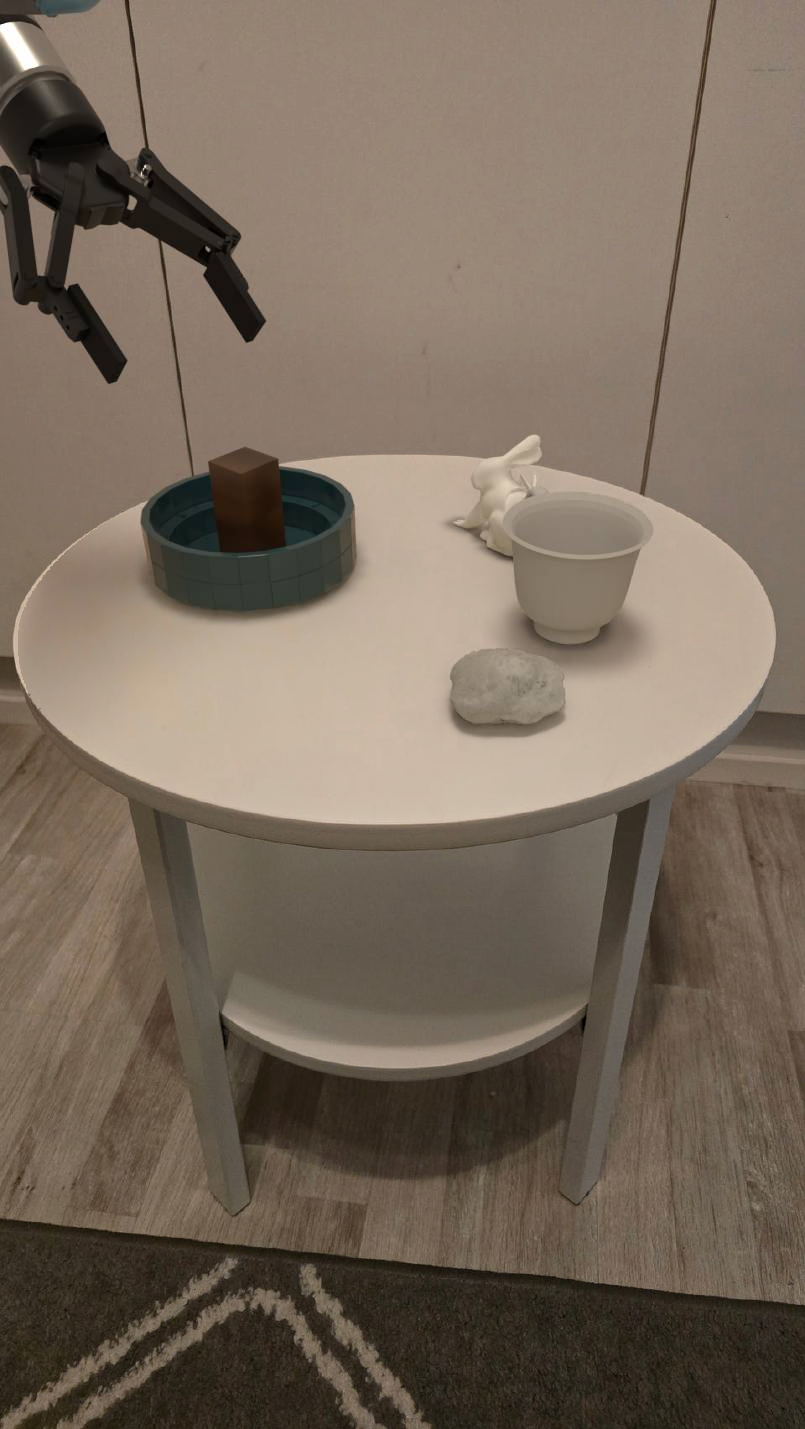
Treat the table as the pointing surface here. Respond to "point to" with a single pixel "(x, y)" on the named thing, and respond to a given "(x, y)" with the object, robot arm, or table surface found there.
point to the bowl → (253, 579)
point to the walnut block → (247, 501)
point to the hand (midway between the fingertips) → (191, 351)
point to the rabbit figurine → (501, 492)
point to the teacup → (573, 559)
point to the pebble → (506, 687)
